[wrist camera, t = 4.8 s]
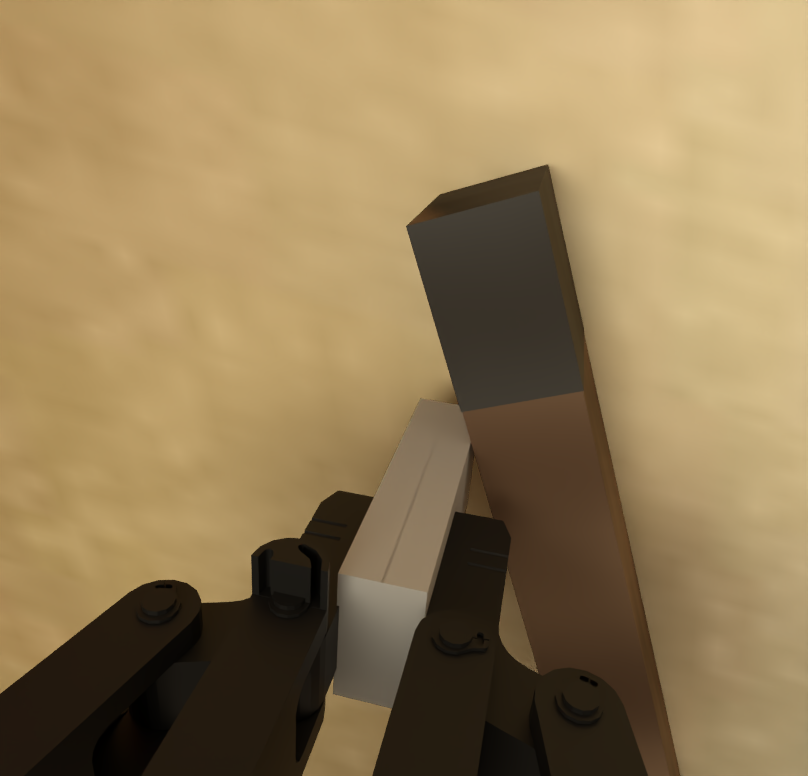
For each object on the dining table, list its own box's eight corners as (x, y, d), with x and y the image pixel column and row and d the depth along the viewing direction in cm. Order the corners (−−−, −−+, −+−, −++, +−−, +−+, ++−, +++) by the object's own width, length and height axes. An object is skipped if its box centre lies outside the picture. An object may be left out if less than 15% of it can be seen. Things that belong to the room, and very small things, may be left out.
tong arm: (705, 885, 24) (722, 1008, 21) (627, 882, 25) (634, 1000, 22) (547, 164, 16) (539, 190, 13) (439, 194, 17) (406, 226, 14)
